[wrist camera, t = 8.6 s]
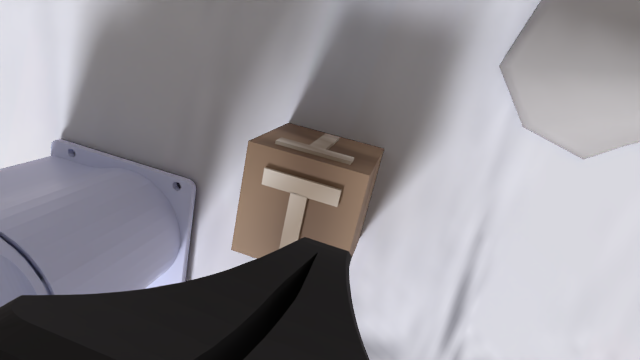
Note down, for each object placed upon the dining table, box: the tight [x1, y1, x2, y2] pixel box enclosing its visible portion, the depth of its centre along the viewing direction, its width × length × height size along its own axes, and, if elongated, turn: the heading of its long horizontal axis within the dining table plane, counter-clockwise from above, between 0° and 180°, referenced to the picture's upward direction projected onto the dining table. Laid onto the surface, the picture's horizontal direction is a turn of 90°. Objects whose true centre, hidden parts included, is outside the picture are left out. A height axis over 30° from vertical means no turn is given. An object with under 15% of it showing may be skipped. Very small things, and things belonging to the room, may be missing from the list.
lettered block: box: [231, 123, 384, 259], centre depth 19 cm, size 5×5×5 cm
